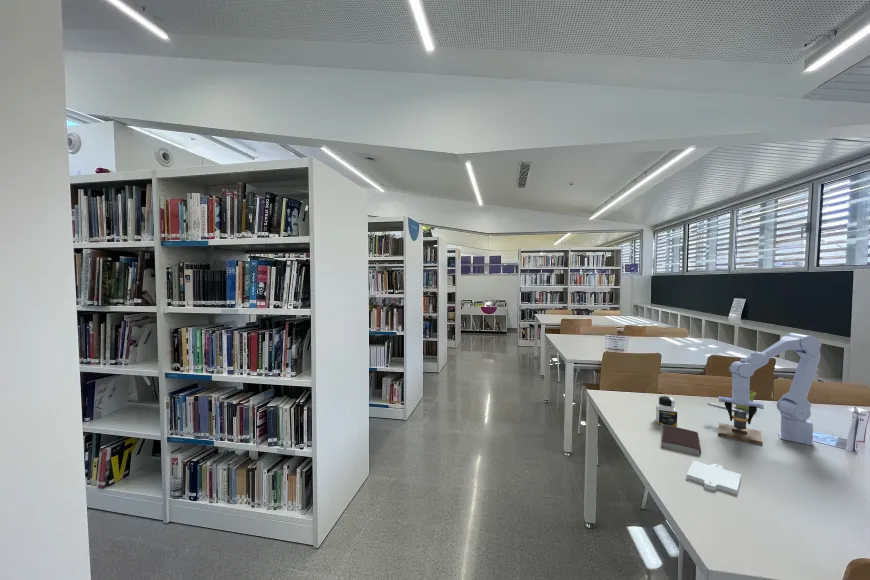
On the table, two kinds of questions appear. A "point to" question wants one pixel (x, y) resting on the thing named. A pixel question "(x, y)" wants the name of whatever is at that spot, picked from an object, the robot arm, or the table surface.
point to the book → (681, 439)
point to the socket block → (749, 436)
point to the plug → (740, 419)
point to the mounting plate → (714, 477)
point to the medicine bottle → (666, 411)
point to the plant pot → (749, 400)
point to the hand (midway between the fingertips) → (740, 421)
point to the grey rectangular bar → (720, 406)
